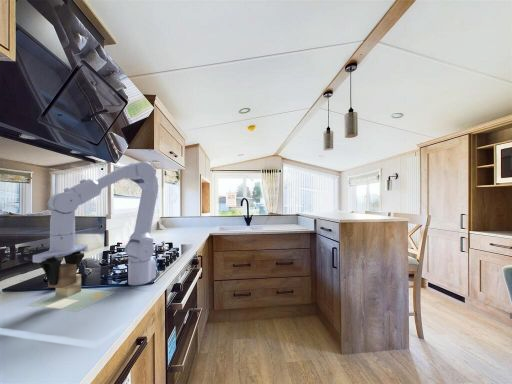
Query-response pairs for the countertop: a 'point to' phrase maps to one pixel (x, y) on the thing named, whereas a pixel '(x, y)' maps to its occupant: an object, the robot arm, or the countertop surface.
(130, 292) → the countertop surface
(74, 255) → the robot arm
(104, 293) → the board
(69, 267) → the walnut block
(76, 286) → the oak block
